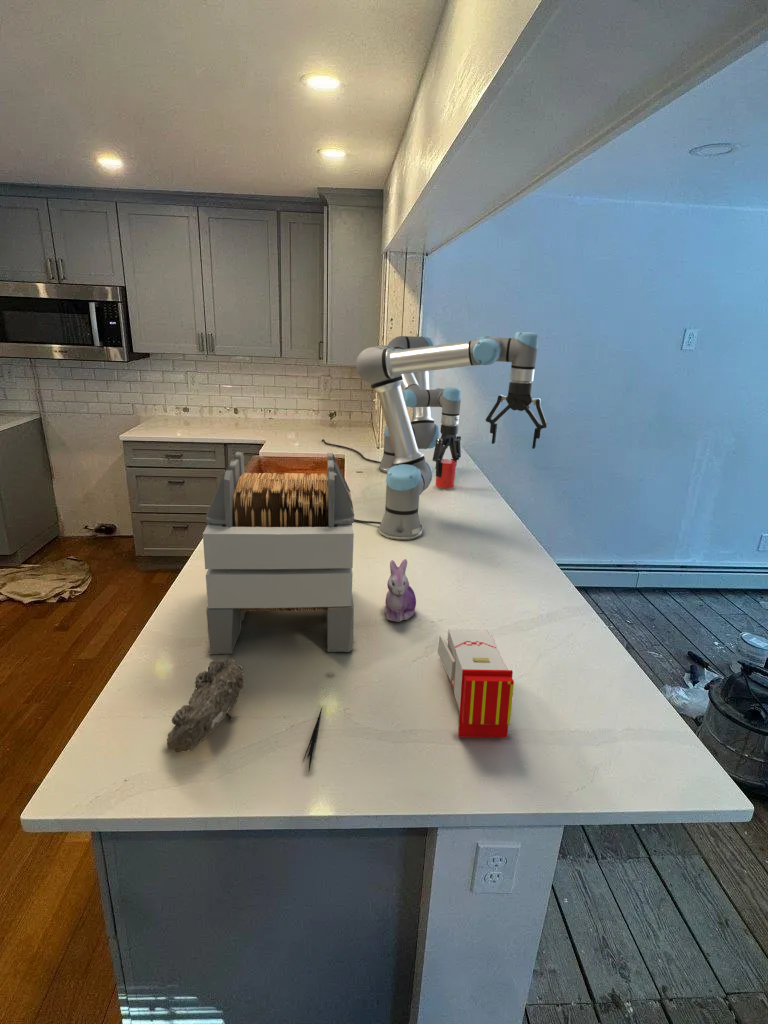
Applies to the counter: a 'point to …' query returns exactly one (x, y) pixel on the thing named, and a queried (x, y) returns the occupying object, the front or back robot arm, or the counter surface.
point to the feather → (313, 740)
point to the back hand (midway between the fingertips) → (445, 474)
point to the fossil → (206, 705)
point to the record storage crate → (279, 550)
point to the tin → (447, 474)
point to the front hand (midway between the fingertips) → (513, 445)
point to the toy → (478, 682)
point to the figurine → (399, 594)
